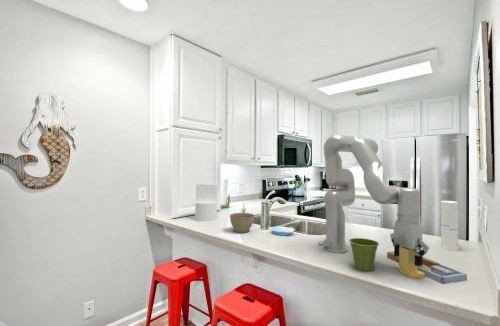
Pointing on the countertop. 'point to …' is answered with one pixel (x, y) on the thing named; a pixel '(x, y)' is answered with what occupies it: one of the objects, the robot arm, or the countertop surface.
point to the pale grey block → (436, 269)
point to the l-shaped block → (409, 263)
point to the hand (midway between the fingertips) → (407, 260)
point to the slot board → (425, 264)
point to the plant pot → (363, 252)
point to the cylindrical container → (449, 225)
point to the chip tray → (445, 279)
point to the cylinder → (206, 202)
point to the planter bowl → (241, 221)
